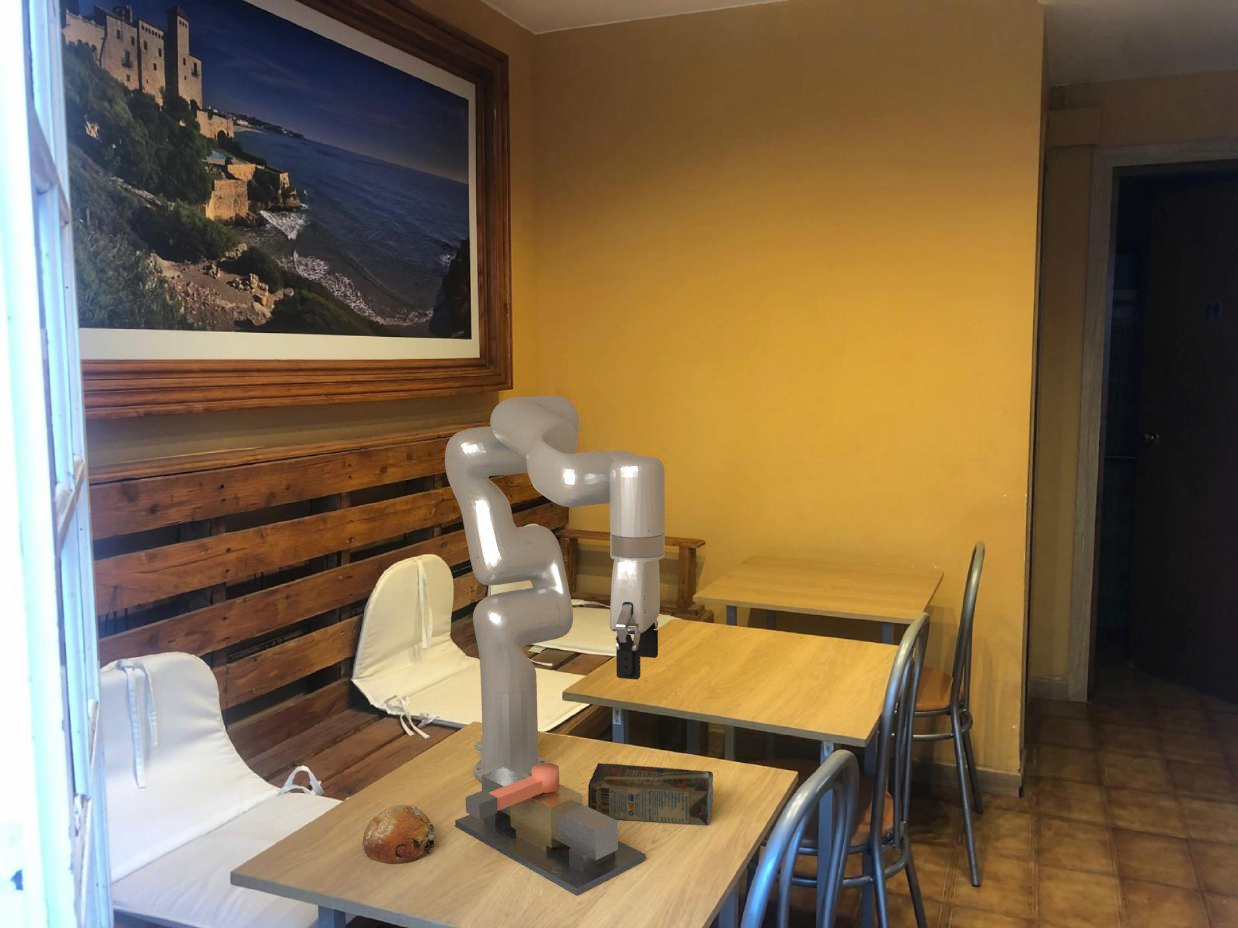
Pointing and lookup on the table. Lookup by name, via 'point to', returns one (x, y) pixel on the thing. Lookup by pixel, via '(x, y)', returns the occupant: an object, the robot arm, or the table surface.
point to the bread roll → (398, 835)
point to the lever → (514, 791)
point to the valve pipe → (554, 836)
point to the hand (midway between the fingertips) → (637, 666)
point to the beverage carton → (652, 794)
